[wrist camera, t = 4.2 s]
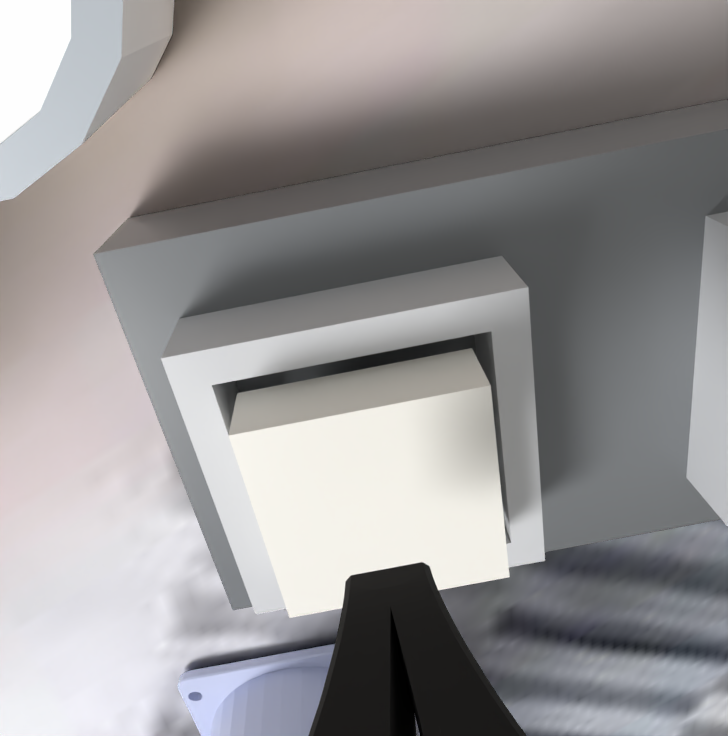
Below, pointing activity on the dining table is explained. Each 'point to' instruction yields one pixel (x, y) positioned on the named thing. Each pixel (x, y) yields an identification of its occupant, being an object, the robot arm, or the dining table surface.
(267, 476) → the pale key
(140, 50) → the white cylinder
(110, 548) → the dining table surface
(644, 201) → the key panel
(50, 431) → the dining table surface
